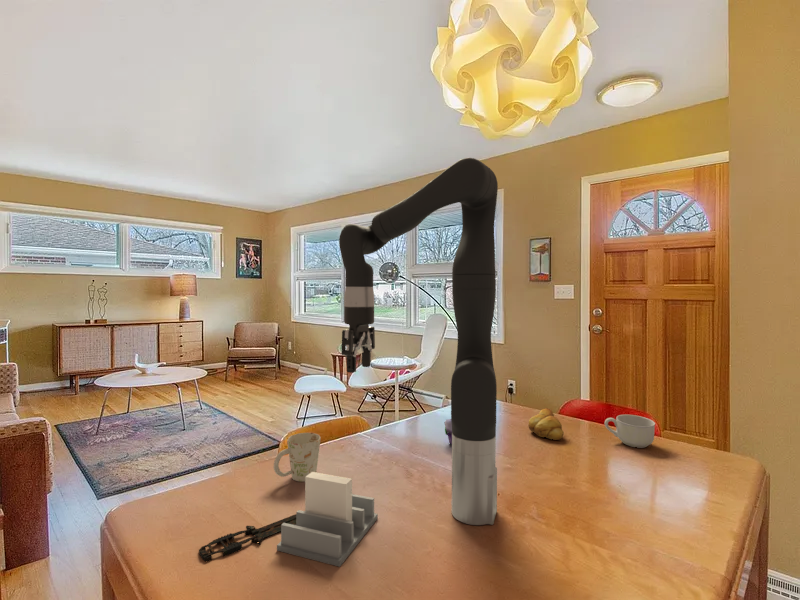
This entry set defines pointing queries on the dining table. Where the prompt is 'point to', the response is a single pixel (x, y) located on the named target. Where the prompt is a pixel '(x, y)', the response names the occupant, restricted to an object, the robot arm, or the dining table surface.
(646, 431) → the teacup
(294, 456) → the mug
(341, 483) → the cream rectangular block
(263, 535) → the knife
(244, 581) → the dining table surface
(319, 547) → the dish rack
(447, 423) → the potion bottle
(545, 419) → the bread roll
